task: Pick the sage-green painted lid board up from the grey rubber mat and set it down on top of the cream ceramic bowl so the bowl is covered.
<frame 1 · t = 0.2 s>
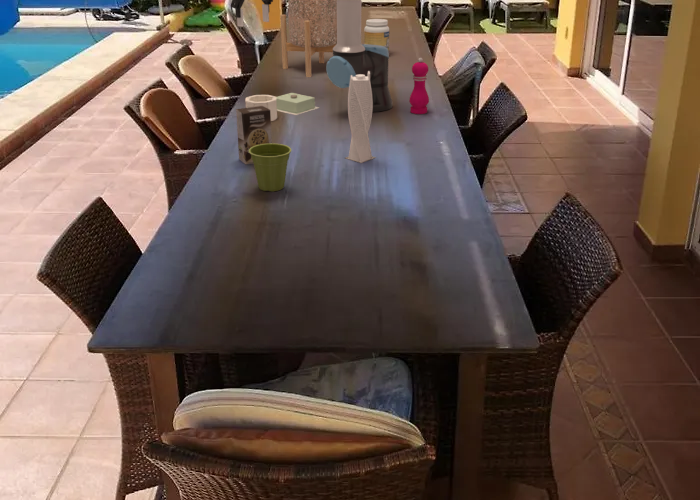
hand: (253, 24, 307), 28 cm above the table, tool pointing down, fingers open, 13 cm apart
lid: (294, 108, 298), resting on mat
plant pot: (272, 188, 223), on the table
bowl: (262, 119, 286), on the table
pepper mill: (418, 112, 293), on the table
supplement tub: (376, 56, 384), on the table
coffee box: (256, 160, 245), on the table
planter: (315, 69, 359), on the table
mat: (294, 109, 298), on the table
skyscraper: (360, 160, 245), on the table
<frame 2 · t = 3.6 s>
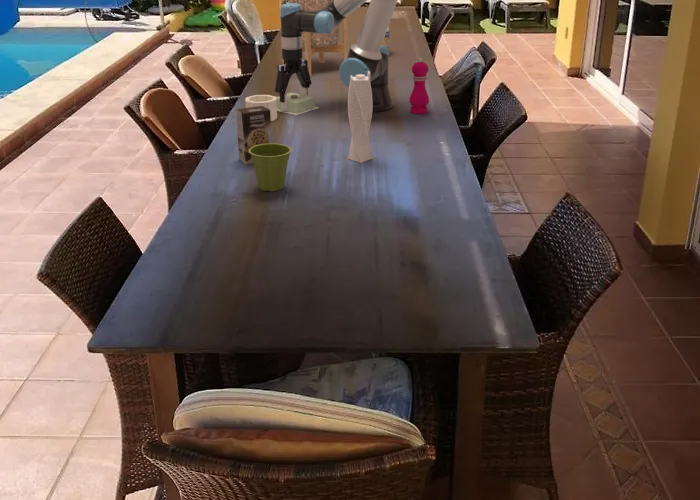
hand: (294, 107, 298), 1 cm above the table, tool pointing down, fingers closed on lid, 10 cm apart
lid: (294, 108, 298), resting on mat, touching gripper
everything else where it was.
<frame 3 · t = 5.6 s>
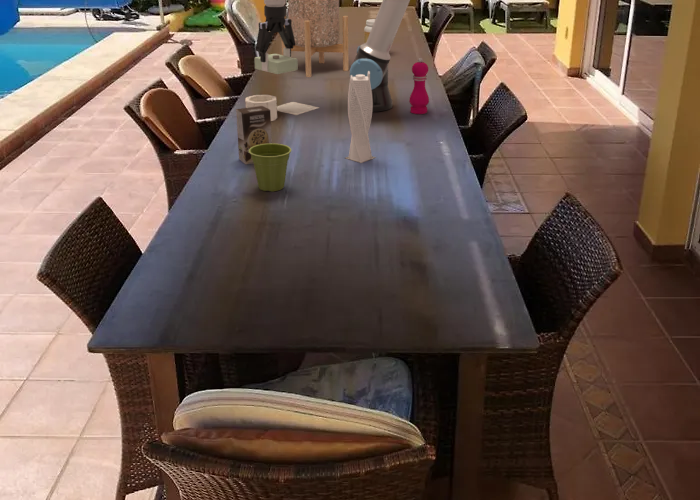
hand: (276, 68, 286), 17 cm above the table, tool pointing down, fingers closed on lid, 10 cm apart
lid: (276, 69, 286), point 16 cm above the table, touching gripper
everything else where it was.
when the fingers open (9 cm above the table, at t = 7.8 s): lid drops 1 cm, resting on bowl.
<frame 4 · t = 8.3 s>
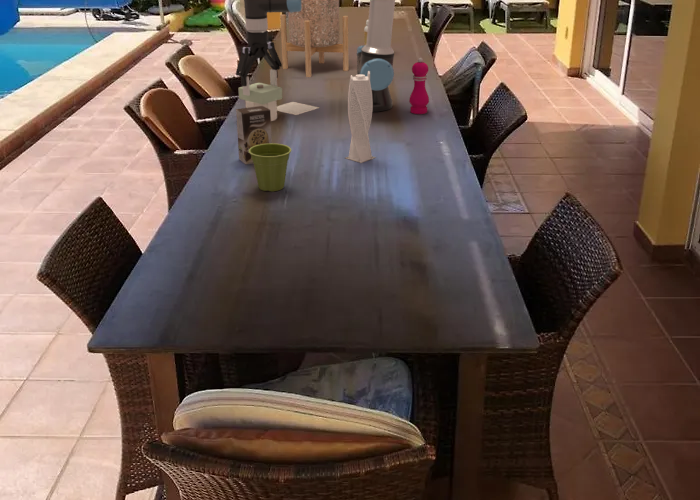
hand: (260, 91, 282), 10 cm above the table, tool pointing down, fingers open, 13 cm apart
lid: (260, 98, 283), point 7 cm above the table, touching bowl
everything else where it was.
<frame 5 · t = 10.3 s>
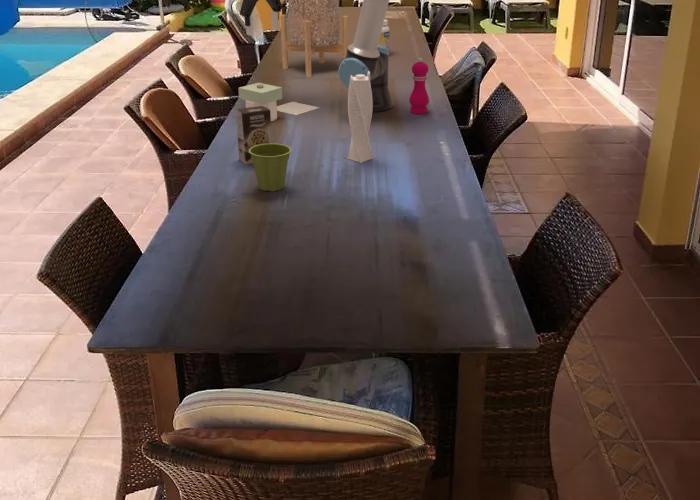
hand: (262, 32, 290), 28 cm above the table, tool pointing down, fingers open, 13 cm apart
nothing on the table moved.
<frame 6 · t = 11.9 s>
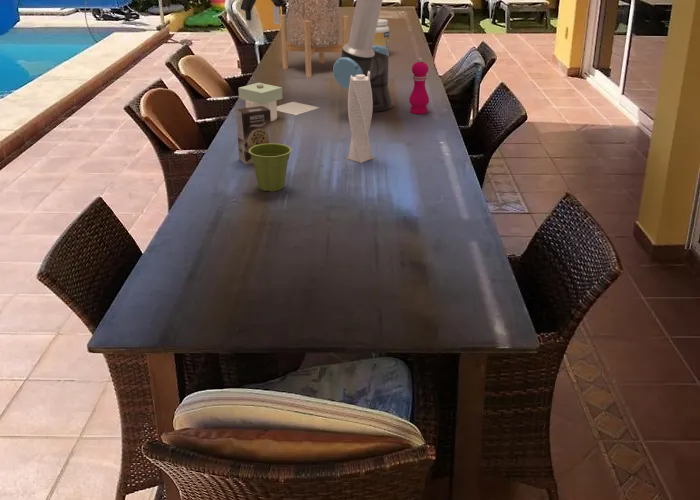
hand: (264, 26, 295), 29 cm above the table, tool pointing down, fingers open, 13 cm apart
nothing on the table moved.
at the end: lid 0.1 cm off-centre on the bowl, point 7.5 cm above the bowl's base; lid tilted 0°; the gripper is holding nothing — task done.
